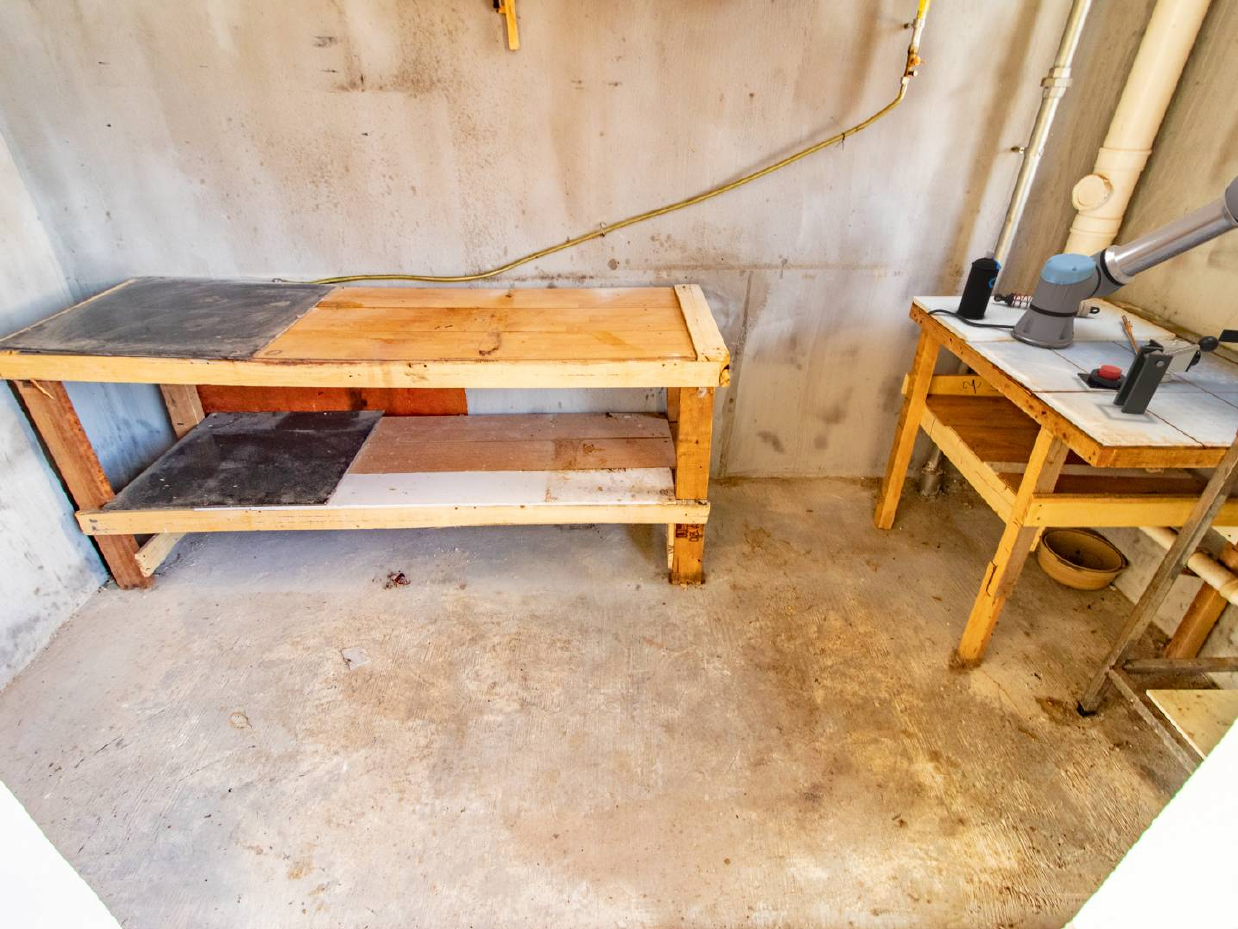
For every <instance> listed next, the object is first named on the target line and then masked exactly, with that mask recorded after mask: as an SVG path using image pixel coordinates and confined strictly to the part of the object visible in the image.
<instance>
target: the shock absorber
mask: <svg viewBox="0 0 1238 929" xmlns="http://www.w3.org/2000/svg"><path fill="white" fill-rule="evenodd" d="M1033 295H1034V294H1032V295H1031V296H1030V298H1029V294H1027V293H1026V294H1024V296H1023V297H1022V293H1017V292H1011V293H1010V294H1006V295H1003V294H1002V293H996V294H994V295H993V301H994V302H995V303H1000V302H1004V303H1005V304H1006V305H1007V307H1013V308H1014V307H1015V305H1016V302H1019V303H1018V308H1021V305H1022V304H1023V303H1025V308H1024V309H1028V307H1029V304H1030V303H1031V300H1032V297H1033ZM1018 297H1019V298H1018ZM1025 298H1026V299H1025ZM1100 312H1101V308H1100V307H1098V306H1093V304H1092V301H1088V300H1083V301H1081V302H1080V305H1079V307H1078V309H1077V312H1076V314H1075V317H1082V318H1087V317H1088V316H1089V315H1090V314H1091V315H1097V314H1099V313H1100Z"/></svg>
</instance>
